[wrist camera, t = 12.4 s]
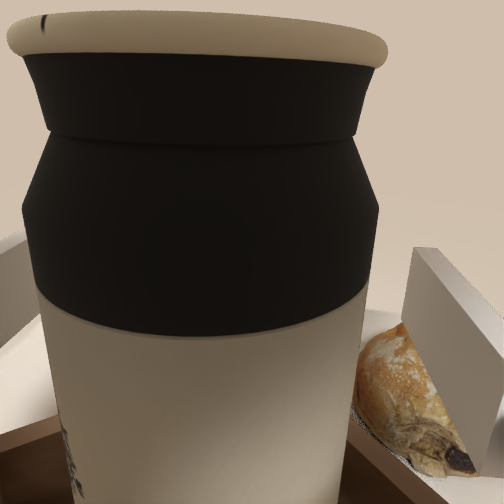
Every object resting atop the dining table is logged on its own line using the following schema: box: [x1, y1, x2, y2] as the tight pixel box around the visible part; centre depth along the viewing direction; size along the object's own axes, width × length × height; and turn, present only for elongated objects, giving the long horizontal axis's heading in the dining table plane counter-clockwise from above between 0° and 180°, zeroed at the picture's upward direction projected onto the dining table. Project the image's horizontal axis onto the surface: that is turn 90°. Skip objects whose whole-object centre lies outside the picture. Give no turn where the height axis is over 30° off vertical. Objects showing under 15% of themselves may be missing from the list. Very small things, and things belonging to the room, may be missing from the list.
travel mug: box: [7, 10, 388, 504], centre depth 12 cm, size 8×8×18 cm
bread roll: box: [352, 322, 479, 478], centre depth 25 cm, size 10×10×8 cm
